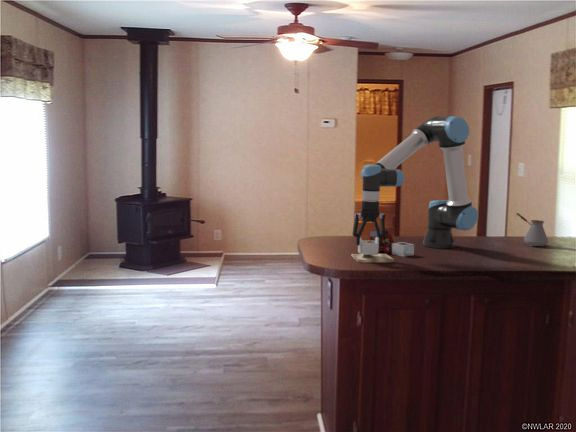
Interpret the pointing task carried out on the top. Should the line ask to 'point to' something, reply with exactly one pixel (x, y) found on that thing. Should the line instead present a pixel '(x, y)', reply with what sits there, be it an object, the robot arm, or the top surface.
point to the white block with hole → (403, 249)
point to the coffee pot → (535, 233)
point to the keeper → (372, 257)
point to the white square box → (369, 247)
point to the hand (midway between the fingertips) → (368, 252)
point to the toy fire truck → (382, 240)
